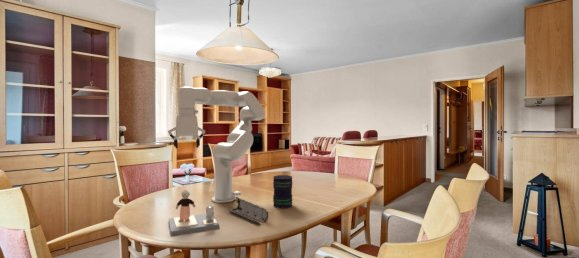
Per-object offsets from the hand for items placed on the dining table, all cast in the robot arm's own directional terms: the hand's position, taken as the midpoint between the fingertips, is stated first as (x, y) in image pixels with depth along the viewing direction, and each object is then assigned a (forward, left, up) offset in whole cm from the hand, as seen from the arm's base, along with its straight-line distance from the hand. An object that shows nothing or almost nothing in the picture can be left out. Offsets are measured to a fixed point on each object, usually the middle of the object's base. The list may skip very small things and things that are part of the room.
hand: (187, 147), depth 137 cm
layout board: (0, +23, -30) cm, 38 cm away
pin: (-6, +27, -28) cm, 40 cm away
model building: (-23, +22, -31) cm, 45 cm away
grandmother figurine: (+3, +22, -29) cm, 36 cm away
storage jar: (-45, +14, -31) cm, 56 cm away
